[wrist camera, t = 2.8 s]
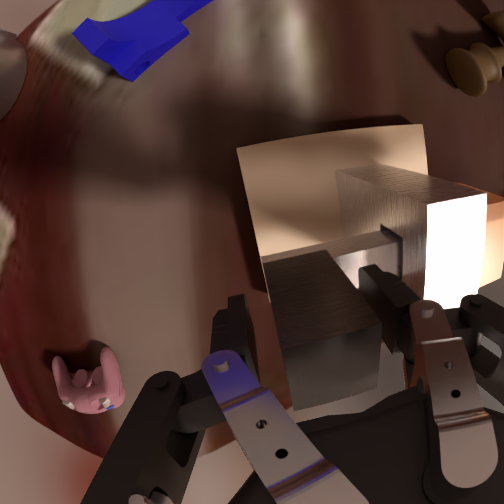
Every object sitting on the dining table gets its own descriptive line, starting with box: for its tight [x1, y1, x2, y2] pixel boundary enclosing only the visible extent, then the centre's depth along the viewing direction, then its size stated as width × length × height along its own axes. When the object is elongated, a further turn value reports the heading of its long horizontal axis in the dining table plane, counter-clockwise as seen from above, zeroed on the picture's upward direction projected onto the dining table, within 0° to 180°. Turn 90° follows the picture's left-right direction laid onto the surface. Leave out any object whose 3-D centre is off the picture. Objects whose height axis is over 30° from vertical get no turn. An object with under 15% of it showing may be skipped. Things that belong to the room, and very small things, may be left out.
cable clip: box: [72, 0, 213, 82], centre depth 15 cm, size 12×4×6 cm, turn 129°
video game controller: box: [52, 347, 125, 414], centre depth 27 cm, size 10×5×7 cm, turn 107°
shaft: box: [261, 228, 403, 411], centre depth 12 cm, size 3×18×8 cm, turn 102°
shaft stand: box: [236, 124, 487, 309], centre depth 18 cm, size 13×16×14 cm
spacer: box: [457, 183, 504, 288], centre depth 15 cm, size 5×3×5 cm, turn 12°
